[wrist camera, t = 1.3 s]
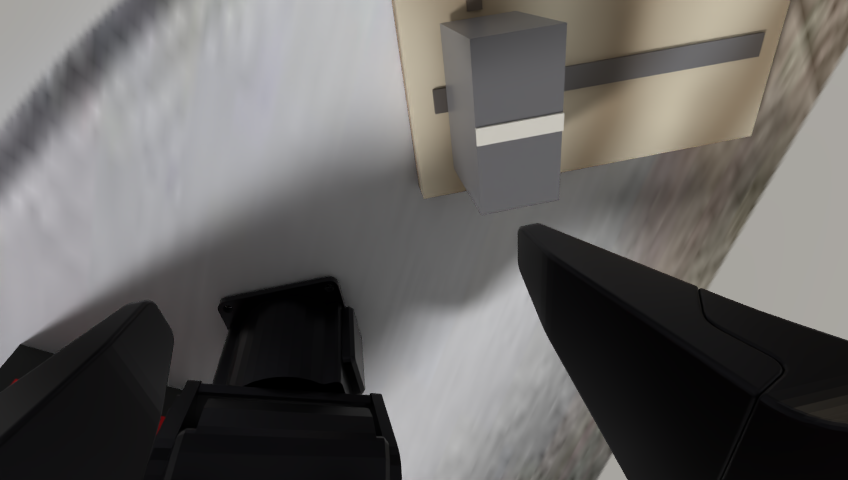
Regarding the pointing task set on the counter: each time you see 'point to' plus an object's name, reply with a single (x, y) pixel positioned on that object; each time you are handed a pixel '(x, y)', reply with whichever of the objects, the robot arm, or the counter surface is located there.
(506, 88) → the fader knob
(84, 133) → the counter surface
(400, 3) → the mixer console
